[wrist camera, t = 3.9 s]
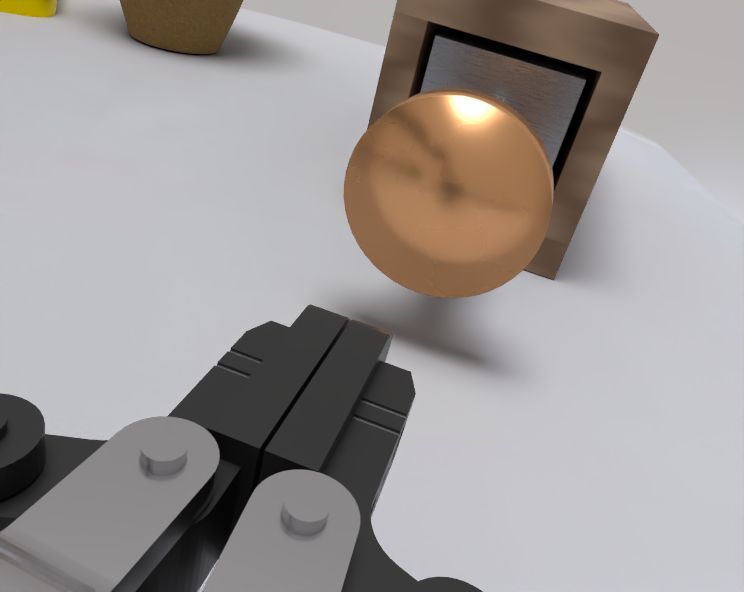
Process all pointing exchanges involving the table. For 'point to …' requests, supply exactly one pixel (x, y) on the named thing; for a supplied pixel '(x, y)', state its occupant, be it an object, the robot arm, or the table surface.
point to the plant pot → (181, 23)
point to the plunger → (463, 167)
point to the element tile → (29, 7)
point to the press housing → (547, 37)
